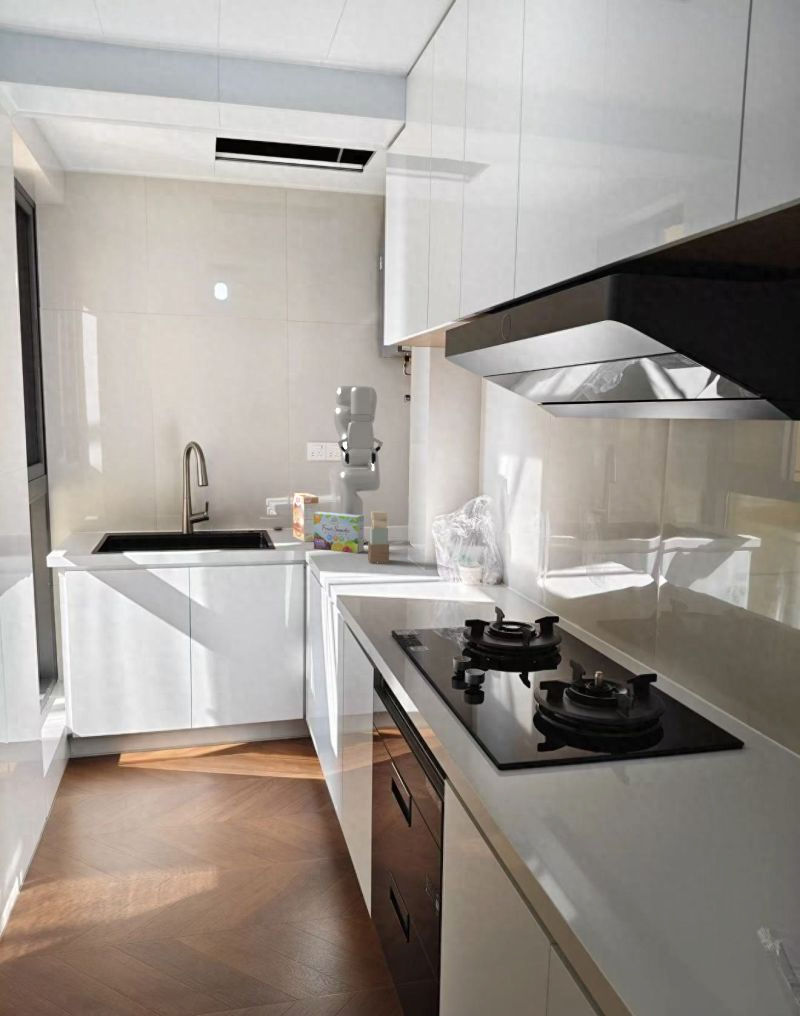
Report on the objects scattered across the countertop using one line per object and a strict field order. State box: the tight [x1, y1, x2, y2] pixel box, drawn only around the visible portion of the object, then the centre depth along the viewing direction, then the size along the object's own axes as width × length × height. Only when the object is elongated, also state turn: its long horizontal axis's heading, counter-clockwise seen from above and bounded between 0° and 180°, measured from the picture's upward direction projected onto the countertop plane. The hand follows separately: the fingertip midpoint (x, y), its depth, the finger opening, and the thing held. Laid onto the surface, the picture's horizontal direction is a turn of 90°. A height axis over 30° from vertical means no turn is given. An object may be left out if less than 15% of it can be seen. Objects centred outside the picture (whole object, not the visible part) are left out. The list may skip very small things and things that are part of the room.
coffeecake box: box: [292, 492, 319, 543], centre depth 365 cm, size 15×7×20 cm, turn 25°
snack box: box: [313, 510, 365, 554], centre depth 339 cm, size 21×6×15 cm, turn 62°
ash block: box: [370, 510, 388, 529], centre depth 314 cm, size 5×5×6 cm
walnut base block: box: [367, 541, 390, 564], centre depth 316 cm, size 7×7×7 cm
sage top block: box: [369, 526, 389, 545], centre depth 315 cm, size 6×6×6 cm
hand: (360, 463), depth 321 cm, fingers open, 9 cm apart
